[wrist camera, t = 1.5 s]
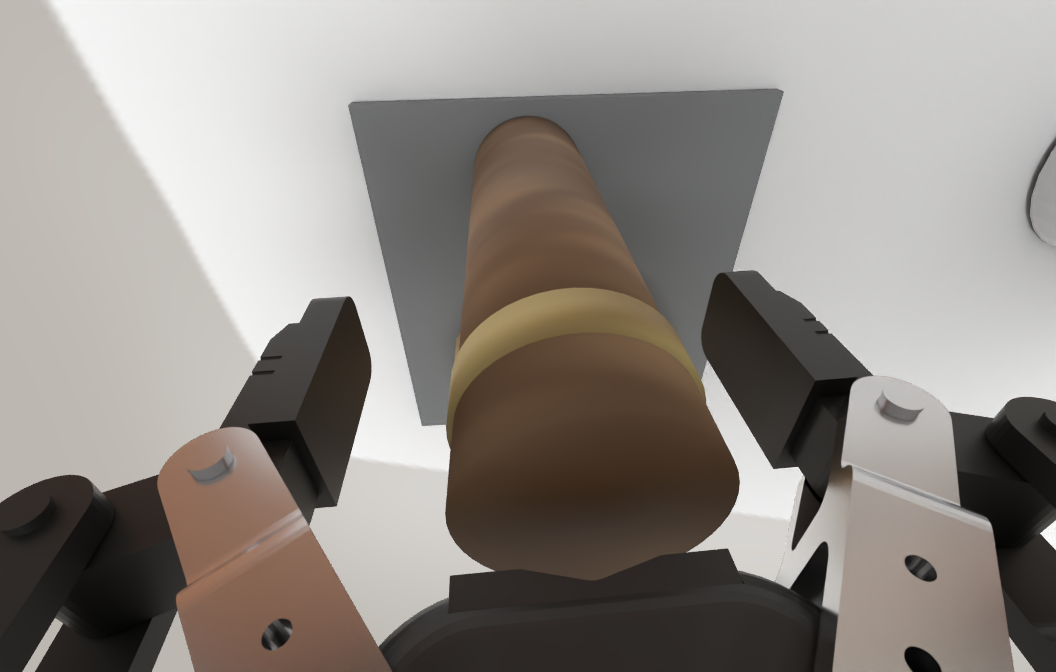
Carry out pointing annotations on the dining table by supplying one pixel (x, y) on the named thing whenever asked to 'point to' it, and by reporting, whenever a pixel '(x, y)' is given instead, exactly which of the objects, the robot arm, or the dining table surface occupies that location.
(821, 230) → the dining table surface
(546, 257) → the banded wooden cylinder
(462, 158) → the mat
